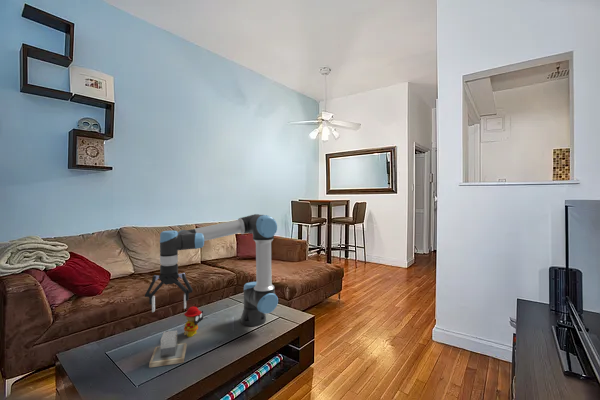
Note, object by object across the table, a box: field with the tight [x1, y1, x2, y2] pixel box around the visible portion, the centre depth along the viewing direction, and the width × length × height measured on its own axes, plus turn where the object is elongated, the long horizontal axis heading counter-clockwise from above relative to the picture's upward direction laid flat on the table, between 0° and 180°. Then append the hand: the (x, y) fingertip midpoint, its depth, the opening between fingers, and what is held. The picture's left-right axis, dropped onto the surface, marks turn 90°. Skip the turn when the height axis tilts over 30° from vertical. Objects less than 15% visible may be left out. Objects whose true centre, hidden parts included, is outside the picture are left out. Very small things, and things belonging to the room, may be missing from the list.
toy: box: [183, 306, 204, 338], centre depth 156 cm, size 11×9×15 cm
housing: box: [160, 329, 178, 358], centre depth 135 cm, size 8×6×8 cm
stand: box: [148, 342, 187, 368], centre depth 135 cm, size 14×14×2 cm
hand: (169, 309), depth 134 cm, fingers open, 13 cm apart
